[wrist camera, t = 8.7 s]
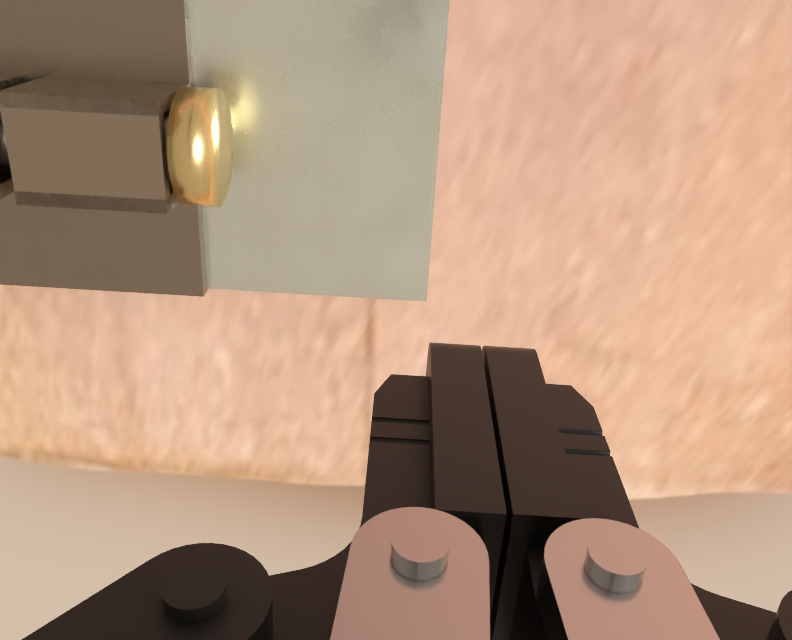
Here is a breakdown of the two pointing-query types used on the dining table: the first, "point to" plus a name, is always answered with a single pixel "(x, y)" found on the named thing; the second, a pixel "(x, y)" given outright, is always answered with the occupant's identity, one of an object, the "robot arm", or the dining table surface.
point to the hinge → (252, 145)
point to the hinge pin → (192, 146)
